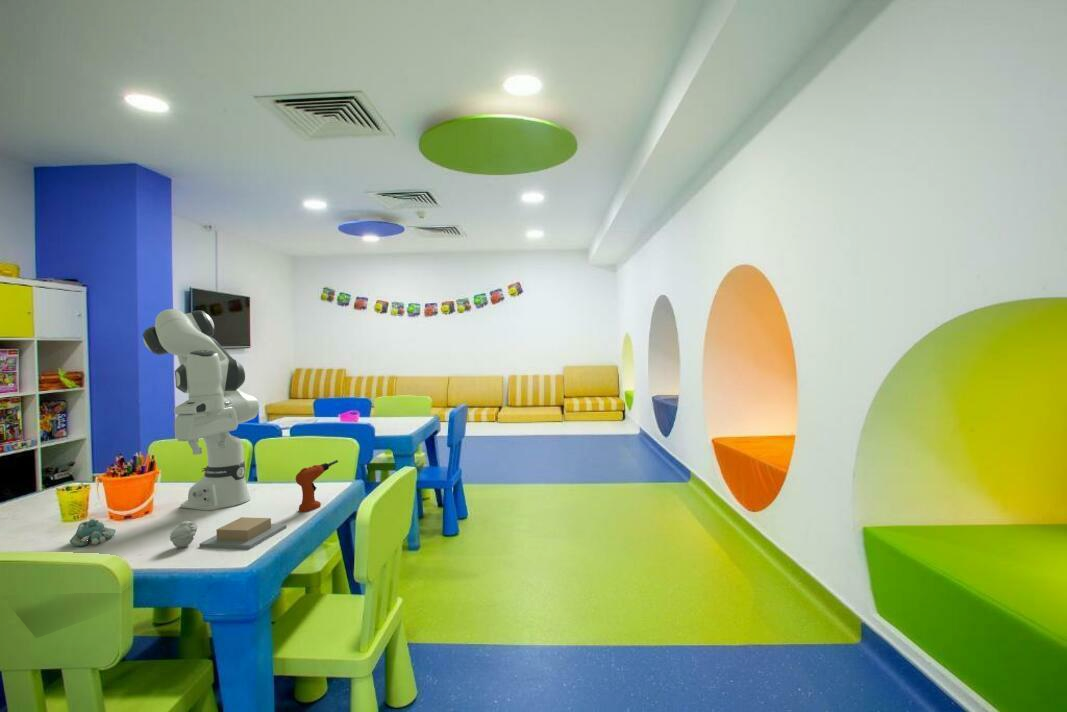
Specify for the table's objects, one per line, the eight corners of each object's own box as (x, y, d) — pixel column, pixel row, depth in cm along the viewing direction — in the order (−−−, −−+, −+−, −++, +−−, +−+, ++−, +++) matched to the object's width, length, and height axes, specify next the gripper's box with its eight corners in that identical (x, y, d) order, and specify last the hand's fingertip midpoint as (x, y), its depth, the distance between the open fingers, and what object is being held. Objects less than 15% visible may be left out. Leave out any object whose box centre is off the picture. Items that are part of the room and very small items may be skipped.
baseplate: (199, 547, 144) (198, 533, 144) (240, 526, 160) (239, 513, 160) (250, 548, 142) (249, 534, 142) (286, 527, 158) (285, 514, 157)
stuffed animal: (75, 534, 143) (63, 518, 150) (75, 557, 144) (63, 541, 151) (122, 522, 152) (109, 508, 158) (122, 544, 153) (109, 529, 159)
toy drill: (347, 492, 188) (341, 453, 186) (306, 515, 171) (299, 473, 169) (337, 491, 190) (331, 452, 188) (295, 513, 173) (289, 471, 171)
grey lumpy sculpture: (203, 542, 148) (202, 518, 147) (181, 552, 141) (179, 527, 141) (186, 540, 149) (185, 517, 149) (164, 550, 142) (162, 526, 142)
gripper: (223, 401, 162) (226, 444, 162) (168, 409, 142) (172, 458, 142) (241, 400, 161) (244, 443, 161) (188, 408, 141) (192, 458, 141)
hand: (210, 450), depth 151 cm, fingers open, 8 cm apart
